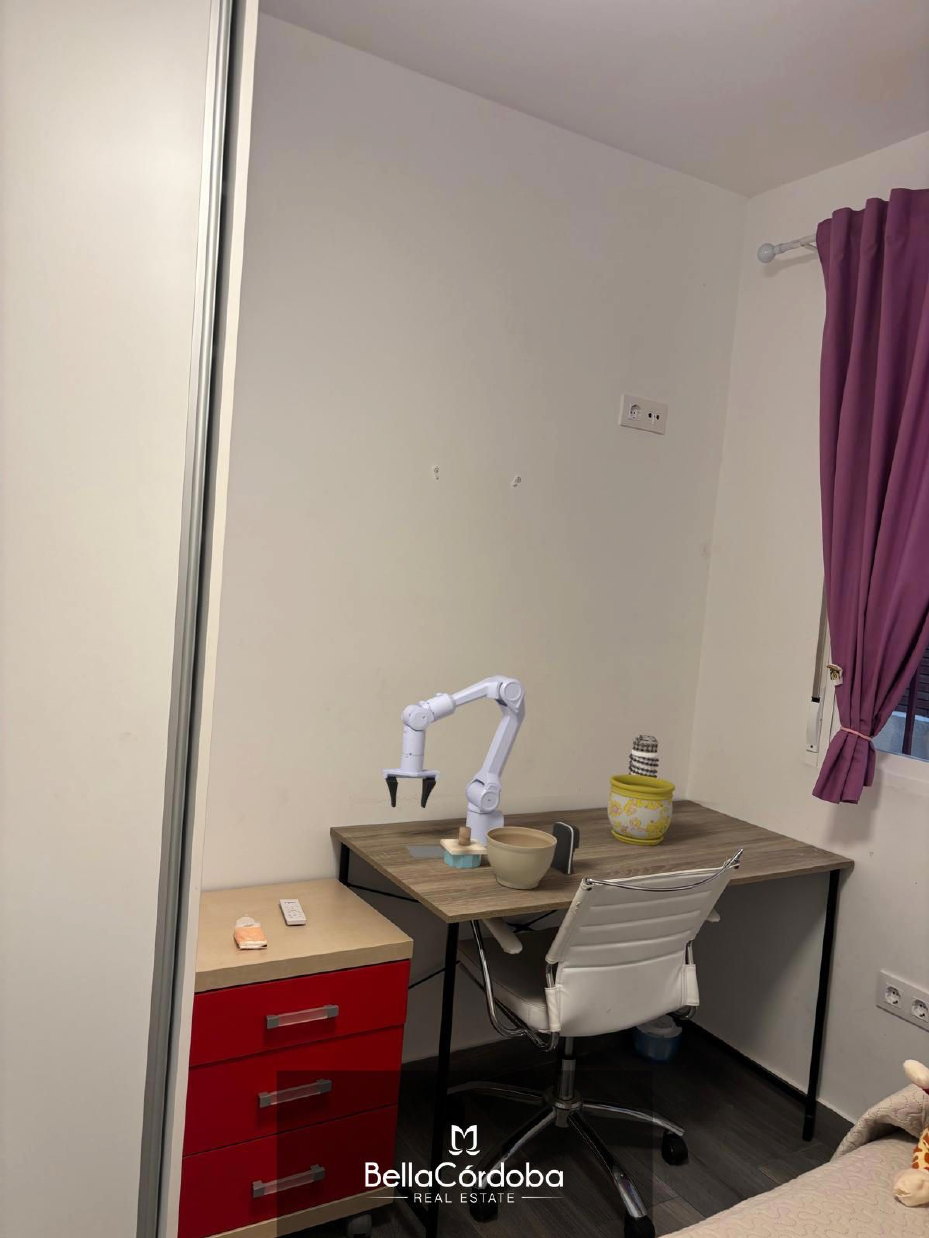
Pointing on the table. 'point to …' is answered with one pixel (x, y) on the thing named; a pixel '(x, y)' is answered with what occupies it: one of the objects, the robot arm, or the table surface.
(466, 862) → the bowl
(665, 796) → the flowerpot
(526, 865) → the planter bowl
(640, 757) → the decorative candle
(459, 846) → the lid
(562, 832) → the battery charger
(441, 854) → the mat
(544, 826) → the table surface
